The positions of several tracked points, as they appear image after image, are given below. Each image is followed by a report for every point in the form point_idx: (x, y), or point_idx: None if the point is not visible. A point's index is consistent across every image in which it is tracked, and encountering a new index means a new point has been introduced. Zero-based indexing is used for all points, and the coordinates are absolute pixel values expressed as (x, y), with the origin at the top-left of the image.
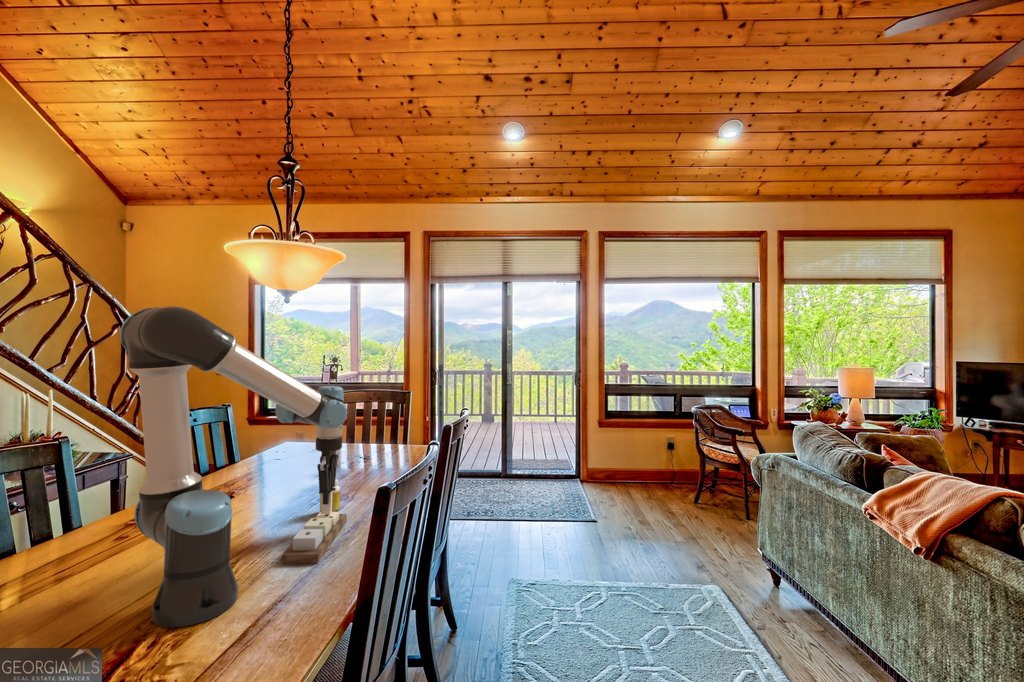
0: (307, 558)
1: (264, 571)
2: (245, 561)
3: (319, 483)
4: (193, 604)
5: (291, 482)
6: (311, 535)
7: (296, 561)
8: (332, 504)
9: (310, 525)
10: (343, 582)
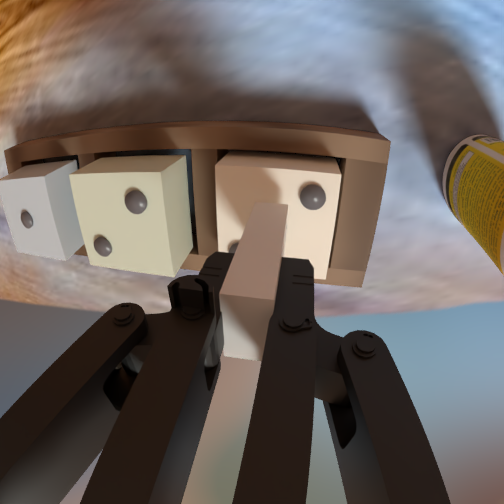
0: None
1: (2, 117)
2: (34, 27)
3: (39, 382)
4: None
5: None
6: (23, 234)
7: None
8: (466, 220)
9: (79, 201)
10: (22, 291)
